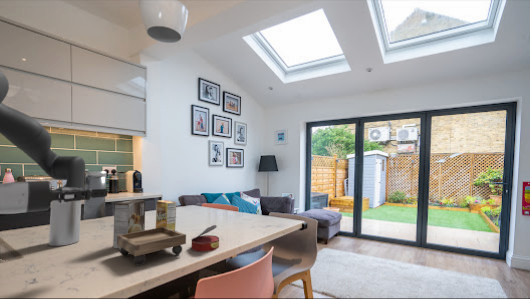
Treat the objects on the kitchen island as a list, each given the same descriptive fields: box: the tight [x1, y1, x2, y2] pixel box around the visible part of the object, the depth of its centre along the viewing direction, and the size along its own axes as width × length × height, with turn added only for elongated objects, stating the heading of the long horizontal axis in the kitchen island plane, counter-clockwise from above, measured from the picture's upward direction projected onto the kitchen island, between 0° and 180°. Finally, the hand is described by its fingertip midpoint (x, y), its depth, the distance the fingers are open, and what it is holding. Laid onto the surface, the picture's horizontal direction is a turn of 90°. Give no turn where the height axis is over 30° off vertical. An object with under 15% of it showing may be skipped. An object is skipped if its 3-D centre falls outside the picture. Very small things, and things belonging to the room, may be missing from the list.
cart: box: [117, 227, 187, 266], centre depth 84 cm, size 16×16×6 cm
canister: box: [83, 171, 107, 220], centre depth 73 cm, size 5×5×13 cm
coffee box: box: [112, 199, 146, 249], centre depth 95 cm, size 9×6×16 cm
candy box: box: [155, 199, 177, 231], centre depth 101 cm, size 9×4×15 cm, turn 50°
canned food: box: [191, 224, 220, 252], centre depth 92 cm, size 11×10×10 cm
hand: (103, 191), depth 74 cm, fingers closed on canister, 5 cm apart
